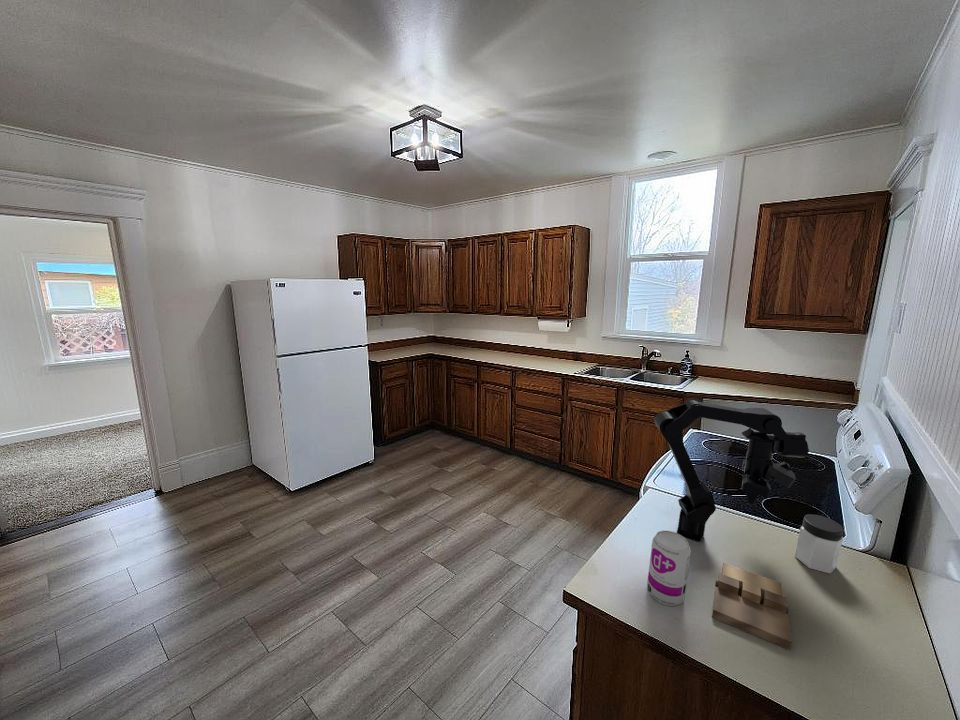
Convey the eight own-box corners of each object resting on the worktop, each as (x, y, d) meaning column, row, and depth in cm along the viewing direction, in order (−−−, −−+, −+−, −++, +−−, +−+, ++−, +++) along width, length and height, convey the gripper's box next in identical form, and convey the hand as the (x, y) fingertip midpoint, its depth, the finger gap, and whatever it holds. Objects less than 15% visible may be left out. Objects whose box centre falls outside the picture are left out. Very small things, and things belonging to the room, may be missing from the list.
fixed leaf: (711, 616, 88) (713, 601, 88) (714, 586, 97) (717, 572, 97) (790, 650, 81) (793, 633, 80) (786, 613, 90) (789, 598, 89)
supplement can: (668, 613, 89) (676, 556, 86) (639, 588, 96) (645, 534, 93) (691, 600, 93) (699, 545, 90) (661, 577, 100) (668, 525, 97)
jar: (828, 578, 101) (837, 537, 98) (790, 559, 107) (798, 520, 105) (840, 564, 105) (849, 525, 103) (803, 547, 112) (810, 510, 110)
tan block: (719, 595, 94) (721, 581, 94) (720, 576, 101) (723, 562, 100) (781, 620, 88) (784, 604, 87) (778, 597, 94) (781, 583, 94)
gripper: (799, 474, 97) (788, 530, 101) (792, 449, 113) (783, 497, 116) (746, 462, 104) (737, 515, 107) (746, 439, 119) (739, 486, 122)
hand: (751, 503), depth 113 cm, fingers closed
